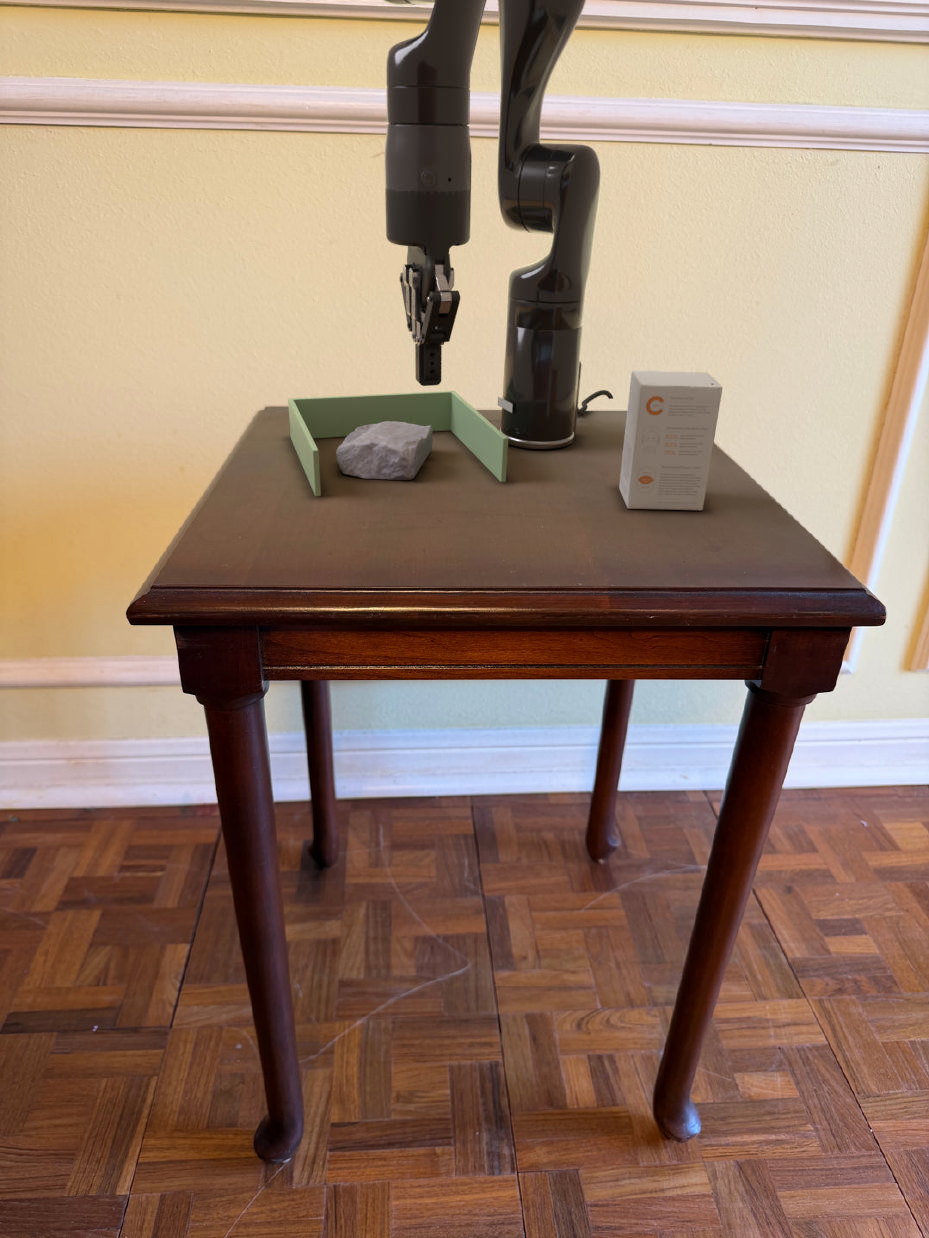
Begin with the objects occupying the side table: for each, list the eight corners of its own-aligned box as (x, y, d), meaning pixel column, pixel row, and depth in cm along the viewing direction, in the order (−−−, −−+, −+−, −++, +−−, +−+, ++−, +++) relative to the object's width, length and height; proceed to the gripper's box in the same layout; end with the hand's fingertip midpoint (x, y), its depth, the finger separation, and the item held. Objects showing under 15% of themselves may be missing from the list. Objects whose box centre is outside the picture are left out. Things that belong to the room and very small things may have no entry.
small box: (690, 490, 97) (709, 371, 91) (703, 512, 91) (724, 386, 85) (617, 488, 97) (630, 369, 91) (625, 509, 91) (641, 384, 85)
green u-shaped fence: (506, 482, 98) (508, 438, 95) (315, 496, 92) (312, 450, 90) (453, 428, 115) (454, 390, 113) (290, 438, 110) (287, 398, 107)
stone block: (334, 491, 98) (420, 480, 96) (324, 449, 96) (412, 437, 94) (361, 462, 109) (439, 451, 107) (352, 423, 107) (432, 412, 105)
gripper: (493, 189, 72) (486, 399, 81) (448, 180, 83) (446, 365, 92) (403, 189, 70) (406, 404, 79) (370, 179, 81) (376, 369, 90)
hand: (428, 383), depth 85 cm, fingers closed
